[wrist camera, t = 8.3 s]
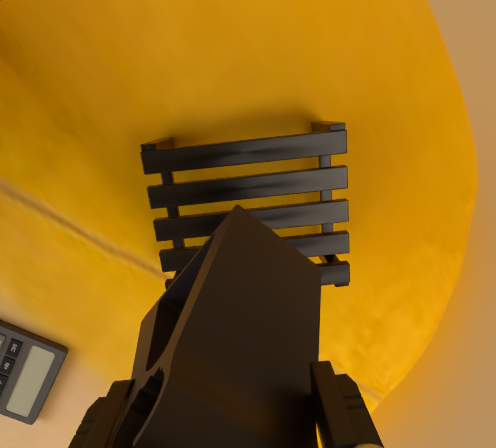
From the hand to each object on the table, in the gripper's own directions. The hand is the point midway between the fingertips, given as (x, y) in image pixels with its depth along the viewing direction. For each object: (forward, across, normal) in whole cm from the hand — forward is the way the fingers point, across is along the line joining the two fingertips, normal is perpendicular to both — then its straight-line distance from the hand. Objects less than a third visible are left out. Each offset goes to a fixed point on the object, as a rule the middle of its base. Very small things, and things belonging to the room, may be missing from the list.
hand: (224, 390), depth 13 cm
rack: (+25, -2, -1) cm, 25 cm away
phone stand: (+8, 0, 0) cm, 8 cm away
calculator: (+25, +30, +15) cm, 42 cm away
